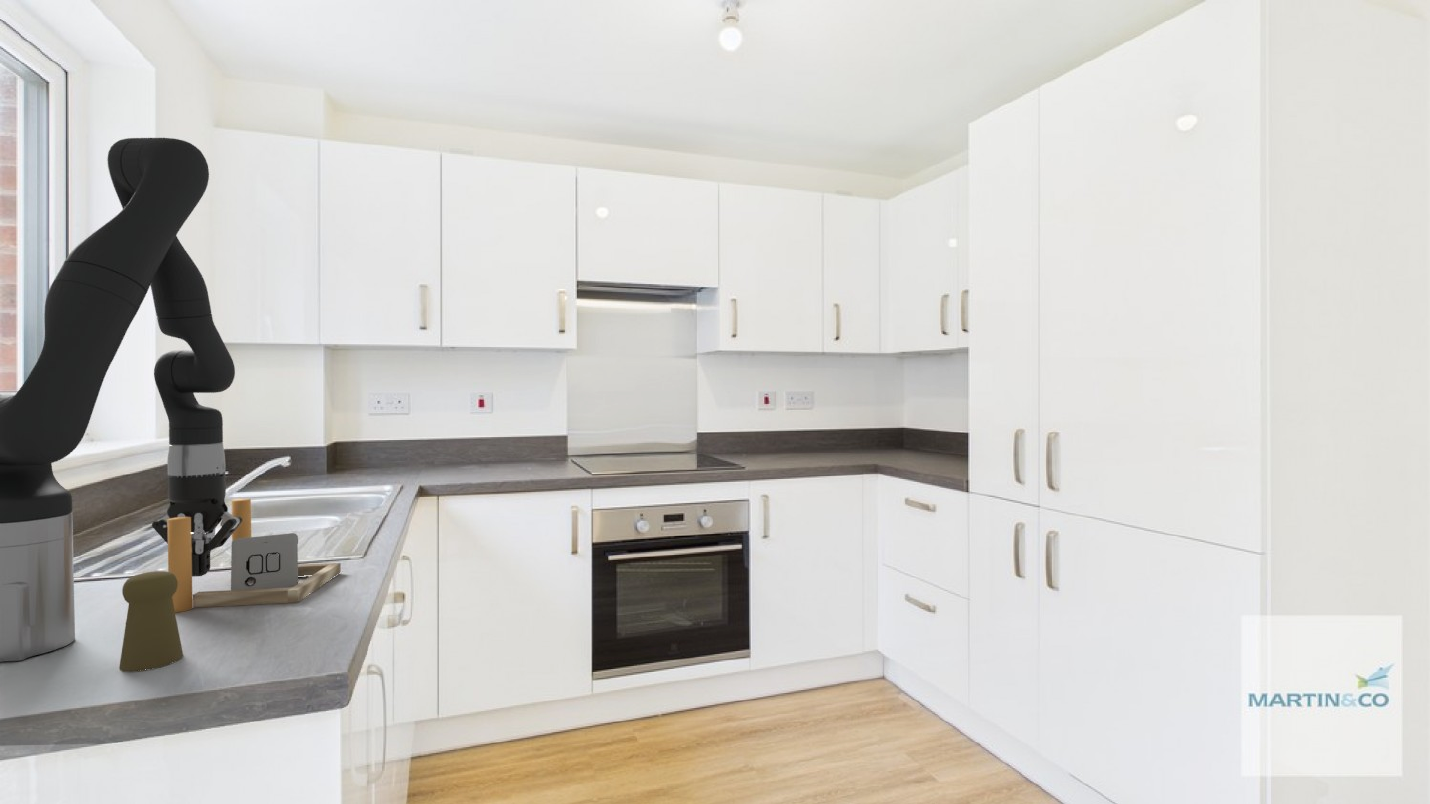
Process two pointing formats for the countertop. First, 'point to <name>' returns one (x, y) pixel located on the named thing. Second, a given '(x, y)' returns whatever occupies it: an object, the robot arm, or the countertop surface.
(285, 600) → the wooden square frame
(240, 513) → the post right
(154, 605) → the cork
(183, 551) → the post left
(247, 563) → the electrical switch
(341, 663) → the countertop surface
